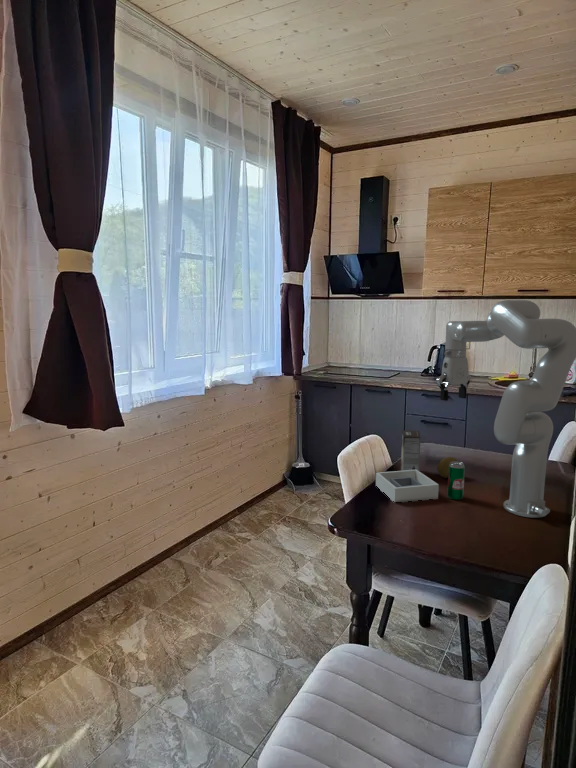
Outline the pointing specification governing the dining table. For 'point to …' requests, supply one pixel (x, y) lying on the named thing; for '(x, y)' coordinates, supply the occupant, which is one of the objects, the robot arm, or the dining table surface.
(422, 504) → the dining table surface
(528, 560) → the dining table surface
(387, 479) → the walled box
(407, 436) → the coffee box
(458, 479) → the soda can
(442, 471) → the potato
